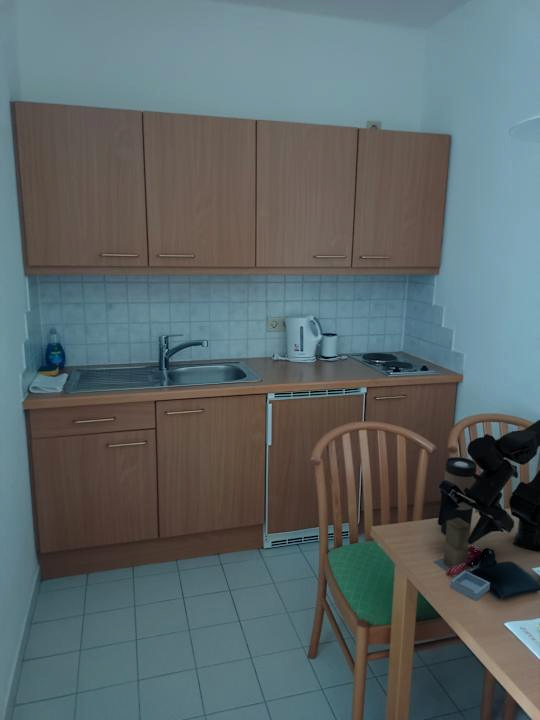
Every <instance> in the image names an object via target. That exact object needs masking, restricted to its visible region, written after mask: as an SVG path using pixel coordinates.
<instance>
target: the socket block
mask: <svg viewBox="0 0 540 720" xmlns="http://www.w3.org/2000/svg"><path fill="white" fill-rule="evenodd" d="M490 587H491V582H489V581H488V580H485V579H483V578H482V577H480V576H478V575H475V574H472V572H470V573H469V572H467V571H465V570H464V571H463V572H462V573H460V574H459V575H458V576H456V577H453V579H451V580H450V587H449V588H450V589H452V590H454V591H456V592H458V593H459V594H461V595H464V596H466V597H468V598H470V599H472V600H474V601H476V602H477V601H478V600H479V599H480V598H481V597H482V596H484V594H486V593H487V592H488V591H490Z"/></svg>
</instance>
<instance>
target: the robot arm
mask: <svg viewBox="0 0 540 720" xmlns="http://www.w3.org/2000/svg"><path fill="white" fill-rule="evenodd" d="M539 447H540V419H538V420H537V421H535V422H534V423H532V424H530V425H529V426H528V427H526V428H525V429H520V430H513V431H510V432H507V433H506V434H504V435H502V436H501V437H499V438H497V439H496V438H495V437H494V436H493V435H491V434H489V433H485V434H484V436H480V437H478V438H474V439H473V440H471V441H470V442H469V443H468V445H467V448H466V451H467V454H468V455H469V456H470V458H471V460H472V461H474V462H475V463H476V464H477V467H479V468H480V469H481V470H482V471H481V472H480V474H477V473H476V474H475V476H474V478H475V482H474V483H473V485H472V486H471V487H470V489H468V488H465V489H464V492H465V493H466V495H465V494H464V493H463V492H462V491H461V490H460V489H459V488H458V487H457V485H455V484H453V483H451V482H449V481H447V480H445V481H444V480H441V482H440V483H439V485H438V486H437V488H438V489H439V494H440V495H441V497H440V506H439V514H438V518H437V525H439V527H441V525H442V524H443V523H444V522H445V521H446V519H447V518H448V517H449V515H450V514H451V513H452V511H453V510H454V509H457V508H459V506H458V505H457V504H460V503H462V502H463V503H465V504H467V505H469V506H471V507H473V509H475V510H477V511H478V515H479V519H478V521H477V522H476V523H475V526H474V527H473V529H472V531H471V532H470V534H469V539H468V541H467V542H468V543H469V544H468V545H472V544H474V543H476V542H478V541H479V540H480V539H481V538H484V537H485V536H486V535H488V534H490V533H493V532H500V533H504V531H505V532H507V533H511V532H512V530H513V529H514V527H515V520H514V519H513V518H512V516H513V517H515V518H518V525H517V532H516V533H515V538H514V540H513V545H516V546H519V547H523V548H526V549H530V550H533V551H537V552H540V469H538V471H537V473H536V474H535V476H534V477H533V479H531V481H529V482H527V483H526V482H523V481H520V482H519V483H518V485H517V486H516V488H515V489H514V490H513V492H511V496H510V497H509V500H508V503H509V509H510V514H511V515H510V514H509V512H507V510H505V509H504V508H503V507H502V505H501V503H500V501H501V499H502V498H503V492H502V490H503V488H505V486H506V484H508V482H509V480H510V479H511V478H512V477H513V478H515V479H518V478H519V472H518V466H517V465H515V464H513V463H516V464H519V465H523V466H524V465H526V464H528V463H529V462H530V461H531V460H533V459H534V458H535V457H536V456H537V454H538V449H539ZM510 461H511V462H513V463H512V464H511V462H510ZM469 501H470V502H469ZM471 502H473V503H471Z"/></svg>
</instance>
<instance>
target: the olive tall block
mask: <svg viewBox="0 0 540 720" xmlns="http://www.w3.org/2000/svg"><path fill="white" fill-rule="evenodd" d="M446 526H447V528H446V535H445V542H444V552H443V553H444V554H443V558H444V563H443V564H445V565H446V566H448V567H449V568H451V567H452V566H456V565H459V564H462V563H465V562H467V561H468V553H469V545H470V544H469V543H468V542H467V541H468V539H469V537H470V534H471V527H470V526H472V524H471V525H470V524H468V523H467V522H465V521H463V520H462V519H460V518H455V519H452V520H448V521H447V524H446ZM469 533H470V534H469ZM467 563H468V562H467Z"/></svg>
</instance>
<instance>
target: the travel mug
mask: <svg viewBox="0 0 540 720" xmlns="http://www.w3.org/2000/svg"><path fill="white" fill-rule="evenodd" d="M477 468H478V465H477V464H476V462H475V461H474V460H473V459H469V458H466V457H459V456H458V457H457V456H454V457H448V458H447V459H446V461H445V471H444V480H443V481H445V480H447V481H449V482H451V483H453V484H455V485H457V487H458V488H459V489H460V490H461V491H462V492H463V493H464V494H465V495H466V493H465V492H464V489H465V488H468V489H470V487H471V486H472V485H473V483H474V482H475V481H476V480H475V478H474V476H475V474H477ZM469 502H470V501H469ZM471 503H473V502H471ZM457 505H458V506H459V508H457V509H454V510H453V511H452V513H451V514H450V515H449V517H448V518H447V519H446V521H445V522H444V523H443V524H442V525H441V526H440V531H441V533H442V534H443V536H446V528H447V526H446V524H447V521H448V520H452V519H455V518H460V519H462V520H463V521H465V522H467V523H468V524H470V525H471V526H472V518H473V511H474V510H473V509H474V508H473V507H471V506H469V505H467V504H465V503H463V502H462V503H460V504H457ZM471 526H470V528H471ZM470 534H471V532H470V533H469V535H470Z"/></svg>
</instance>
